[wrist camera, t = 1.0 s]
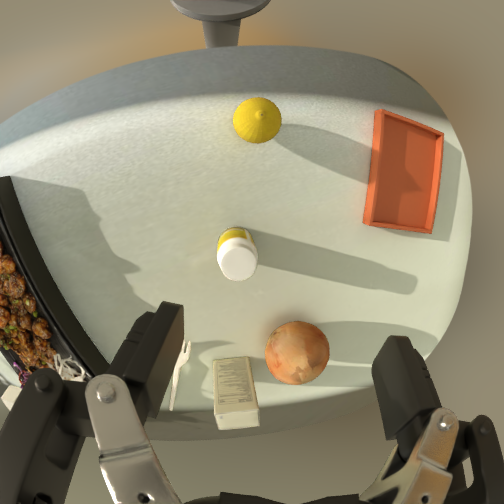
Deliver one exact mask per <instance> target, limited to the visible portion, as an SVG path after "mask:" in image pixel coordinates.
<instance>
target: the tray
mask: <svg viewBox="0 0 504 504" xmlns="http://www.w3.org/2000/svg"><path fill="white" fill-rule="evenodd" d="M443 143H444V133H442V132H440V131H437V130H435V129H433V128H431V127H428V126H426V125H423V124H421V123H418V122H416V121H413V120H411V119H408V118H406V117H403V116H400V115H397V114H394V113H392V112H389V111H386V110H383V109H380V110H377V111H375V117H374V133H373V146H372V157H371V166H370V175H369V183H368V191H367V198H366V205H365V211H364V217H363V223H365V224H367V225H369V226H376V227H384V228H392V229H400V230H407V231H415V232H422V233H429V234H432V229H433V224H434V219H435V213H436V207H437V201H438V194H439V187H440V179H441V169H442V158H443Z"/></svg>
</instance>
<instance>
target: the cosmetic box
mask: <svg viewBox="0 0 504 504" xmlns="http://www.w3.org/2000/svg"><path fill="white" fill-rule="evenodd" d="M213 383H214V415H215V419H216V423H217V426H218V428H219V430H226V429H237V428H246V427H253V426H259V425H260V414H259V407H258V402H257V397H256V392H255V387H254V381H253V376H252V371H251V366H250V360H249V357H240V358H231V359H222V360H214V361H213Z"/></svg>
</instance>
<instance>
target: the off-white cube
mask: <svg viewBox="0 0 504 504" xmlns="http://www.w3.org/2000/svg"><path fill="white" fill-rule="evenodd" d="M21 390H22V389H21V388H19V387H16V386H12V385H9V387H8V388H7V390H6V391H5V393H4V394H3V396H2V397H1V399H2V401H3V402H4V404H5V405H6V406H7V408H8V409H9V410H11V408H12V407H13V405H14V403H15V401H16V399H17V397H18V395H19V394H20V392H21Z"/></svg>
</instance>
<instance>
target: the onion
mask: <svg viewBox="0 0 504 504" xmlns="http://www.w3.org/2000/svg"><path fill="white" fill-rule="evenodd" d="M329 355H330V354H329V342H328V340H327V338H326V336H325V335H324V334H323V332H322V331H321V330H320V329H318V328H317V327H316V326H314V325H312V324H310V323H306V322H301V321H294V322H289V323H287V324H284V325H282V326H280V327H279V328H277V329H276V330H275V331H274V332H273V333H272V334H271V336H270V338H269V340H268V343H267V346H266V350H265V359H266V363H267V366H268V368H269V370H270V372H271V373H272V374H273V376H274V377H275V378H276V379H278V380H279V381H281V382H284V383H287V384H292V385H300V384H304V383H307V382H310V381H312V380H314V379H315V378H316V377H318V376H319V375H320V374H321V372H322V371H323V370H324V369H325V367H326V365H327V362H328V360H329Z"/></svg>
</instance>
